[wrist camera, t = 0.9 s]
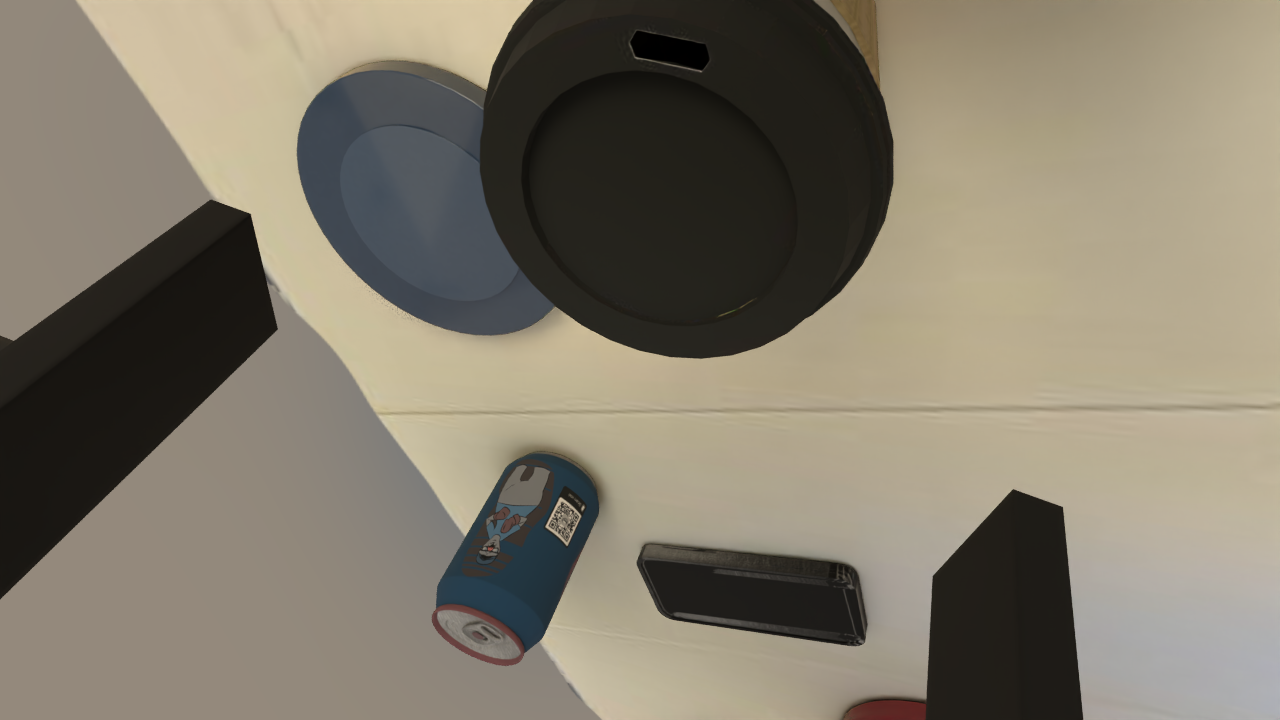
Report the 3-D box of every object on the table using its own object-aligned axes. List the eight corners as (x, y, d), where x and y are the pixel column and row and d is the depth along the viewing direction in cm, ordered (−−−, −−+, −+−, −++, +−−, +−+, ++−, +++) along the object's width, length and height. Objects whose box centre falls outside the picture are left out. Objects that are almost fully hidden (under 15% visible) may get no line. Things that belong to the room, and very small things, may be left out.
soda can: (560, 520, 55) (485, 675, 47) (492, 459, 53) (400, 611, 45) (626, 500, 51) (555, 666, 43) (555, 432, 49) (466, 595, 40)
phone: (867, 648, 51) (661, 618, 58) (869, 633, 52) (665, 605, 58) (853, 579, 47) (631, 555, 53) (856, 563, 47) (637, 541, 54)
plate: (293, 13, 34) (275, 23, 33) (602, 128, 33) (592, 141, 32) (325, 265, 45) (311, 278, 44) (559, 358, 44) (550, 373, 43)
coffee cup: (640, 97, 32) (470, 321, 21) (661, -193, 25) (425, -70, 14) (878, 149, 30) (820, 422, 19) (973, -146, 23) (962, 31, 13)
